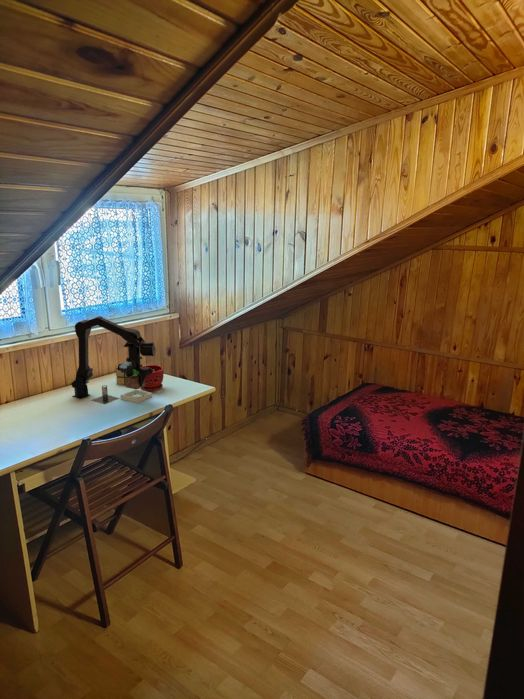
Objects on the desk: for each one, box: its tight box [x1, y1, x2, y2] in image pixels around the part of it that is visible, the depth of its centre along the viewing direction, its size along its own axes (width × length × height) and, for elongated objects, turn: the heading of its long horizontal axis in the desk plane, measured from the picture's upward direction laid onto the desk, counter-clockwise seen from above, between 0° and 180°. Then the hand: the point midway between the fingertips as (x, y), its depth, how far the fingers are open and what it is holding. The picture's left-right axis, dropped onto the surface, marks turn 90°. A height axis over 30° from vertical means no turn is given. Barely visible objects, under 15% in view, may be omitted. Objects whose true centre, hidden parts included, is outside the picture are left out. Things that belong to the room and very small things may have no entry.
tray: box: [120, 389, 153, 404], centre depth 237 cm, size 11×11×2 cm
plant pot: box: [140, 364, 165, 393], centre depth 250 cm, size 13×13×12 cm
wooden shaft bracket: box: [125, 375, 145, 390], centre depth 235 cm, size 6×6×5 cm
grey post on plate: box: [90, 384, 121, 405], centre depth 233 cm, size 10×10×7 cm
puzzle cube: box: [115, 366, 139, 387], centre depth 259 cm, size 10×10×10 cm
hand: (135, 385), depth 235 cm, fingers closed on wooden shaft bracket, 6 cm apart
